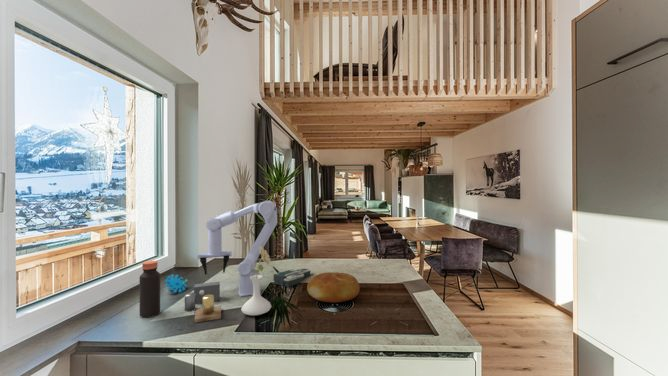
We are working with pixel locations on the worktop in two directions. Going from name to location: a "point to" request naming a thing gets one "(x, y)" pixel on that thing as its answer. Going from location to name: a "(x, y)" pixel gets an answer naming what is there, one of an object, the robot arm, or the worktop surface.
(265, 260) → the flower in vase
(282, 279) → the communication device
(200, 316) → the walnut pad
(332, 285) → the bread
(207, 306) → the brass fitting
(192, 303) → the steel fitting
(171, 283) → the blue bumpy lump
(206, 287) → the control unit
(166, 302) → the worktop surface
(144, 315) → the bottle
